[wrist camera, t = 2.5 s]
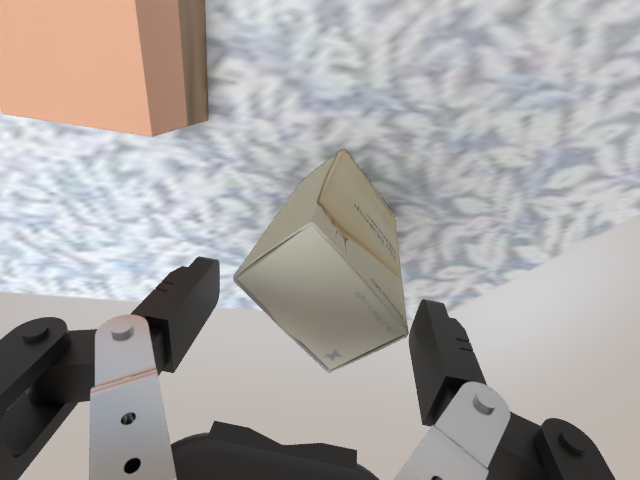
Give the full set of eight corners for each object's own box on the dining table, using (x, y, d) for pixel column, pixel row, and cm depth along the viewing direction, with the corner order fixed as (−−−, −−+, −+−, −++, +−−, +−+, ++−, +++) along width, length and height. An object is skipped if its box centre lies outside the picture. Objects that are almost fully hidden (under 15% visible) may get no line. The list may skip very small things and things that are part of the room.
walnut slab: (206, -29, 18) (173, -49, 15) (210, 119, 22) (184, 127, 19) (73, -47, 19) (15, -70, 16) (99, 101, 23) (56, 105, 20)
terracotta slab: (173, -52, 15) (124, -83, 12) (187, 125, 19) (152, 136, 16) (16, -69, 16) (-69, -102, 13) (60, 107, 20) (2, 114, 16)
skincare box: (396, 214, 23) (419, 338, 13) (346, 246, 25) (330, 379, 14) (341, 144, 21) (315, 217, 11) (292, 183, 23) (227, 280, 12)
